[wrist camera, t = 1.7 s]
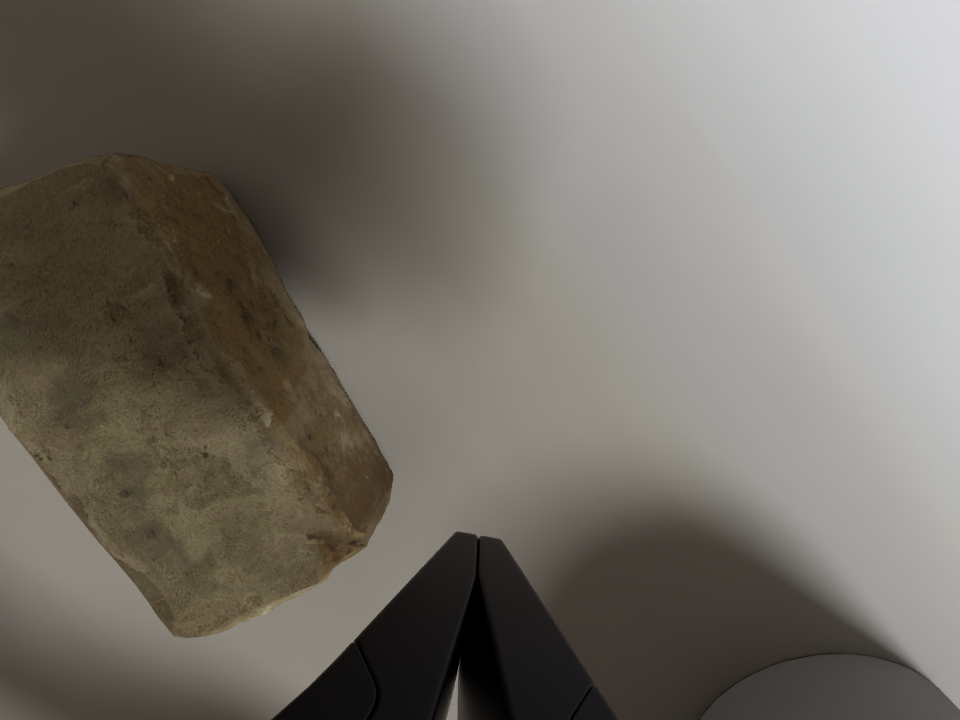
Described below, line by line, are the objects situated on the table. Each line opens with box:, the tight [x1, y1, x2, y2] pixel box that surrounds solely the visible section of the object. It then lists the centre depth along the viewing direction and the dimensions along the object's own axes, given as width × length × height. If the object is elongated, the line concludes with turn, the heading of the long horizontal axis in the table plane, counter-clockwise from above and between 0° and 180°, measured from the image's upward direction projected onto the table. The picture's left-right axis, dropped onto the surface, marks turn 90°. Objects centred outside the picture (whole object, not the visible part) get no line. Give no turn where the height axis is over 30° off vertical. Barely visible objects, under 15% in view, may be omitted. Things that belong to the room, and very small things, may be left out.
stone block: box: [0, 153, 393, 638], centre depth 13 cm, size 6×12×5 cm, turn 27°
